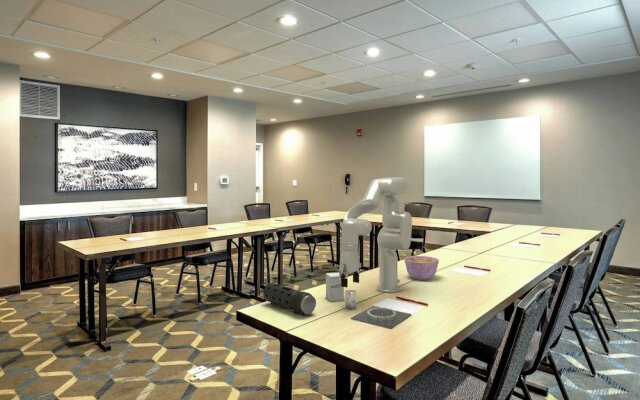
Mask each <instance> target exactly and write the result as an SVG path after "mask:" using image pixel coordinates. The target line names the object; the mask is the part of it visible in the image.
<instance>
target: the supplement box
mask: <svg viewBox="0 0 640 400" xmlns="http://www.w3.org/2000/svg"><path fill="white" fill-rule="evenodd" d="M325 298H326V299H327V301H329V302H330V303H331V302H340V301H345V287H342V286H341V278H340V275H339V271H338V272H326V273H325Z"/></svg>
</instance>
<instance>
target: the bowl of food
mask: <svg viewBox="0 0 640 400" xmlns="http://www.w3.org/2000/svg"><path fill="white" fill-rule="evenodd" d="M439 261H440V260H439V259H438V258H437V257H433V256H429V255H428V256H426V255H409V256H406V257H404V264H405V268H406V271H407V274H408V275H409V276H410V277H411V278H413V279H414V280H416V281H417V280H418V281H427V280H429V279H431V278H433V277H434V276H435V275H436V273H437V269H438V266H439Z"/></svg>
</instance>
